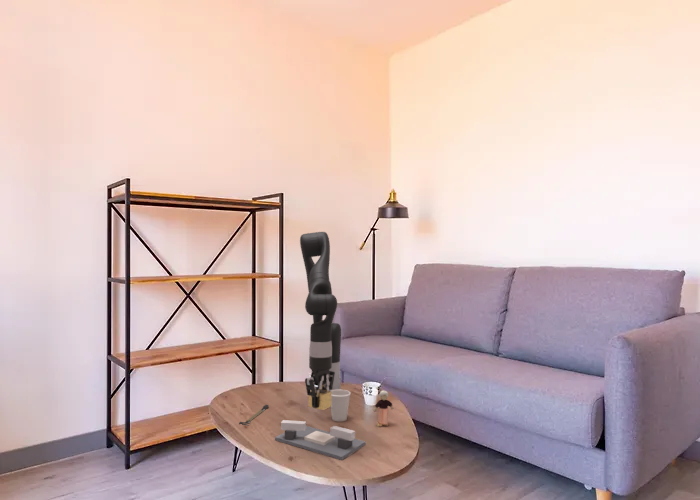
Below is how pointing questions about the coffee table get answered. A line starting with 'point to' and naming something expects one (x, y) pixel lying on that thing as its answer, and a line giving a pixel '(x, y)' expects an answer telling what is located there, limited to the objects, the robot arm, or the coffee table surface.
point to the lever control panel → (320, 439)
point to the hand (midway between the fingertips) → (320, 405)
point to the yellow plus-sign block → (322, 399)
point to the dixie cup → (339, 404)
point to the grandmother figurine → (383, 409)
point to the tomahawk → (255, 415)
